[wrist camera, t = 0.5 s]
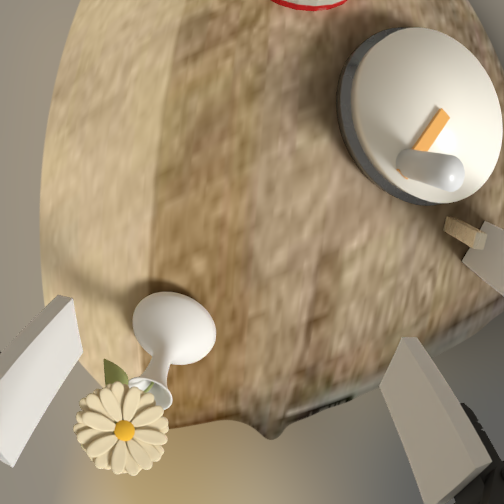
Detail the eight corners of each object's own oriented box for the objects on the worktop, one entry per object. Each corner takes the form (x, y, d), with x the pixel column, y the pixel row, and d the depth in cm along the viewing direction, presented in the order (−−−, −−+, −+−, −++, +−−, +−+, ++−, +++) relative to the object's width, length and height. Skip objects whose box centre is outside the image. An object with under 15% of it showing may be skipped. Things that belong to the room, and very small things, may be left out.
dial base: (342, 11, 26) (359, -12, 20) (485, 66, 27) (516, 60, 20) (321, 212, 35) (336, 230, 28) (466, 234, 36) (495, 252, 29)
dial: (405, 5, 24) (451, -28, 13) (506, 119, 27) (563, 123, 17) (313, 118, 29) (342, 109, 19) (435, 230, 33) (488, 264, 23)
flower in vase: (226, 350, 42) (207, 517, 18) (153, 358, 43) (99, 502, 19) (200, 266, 38) (137, 439, 14) (120, 281, 38) (16, 421, 15)
